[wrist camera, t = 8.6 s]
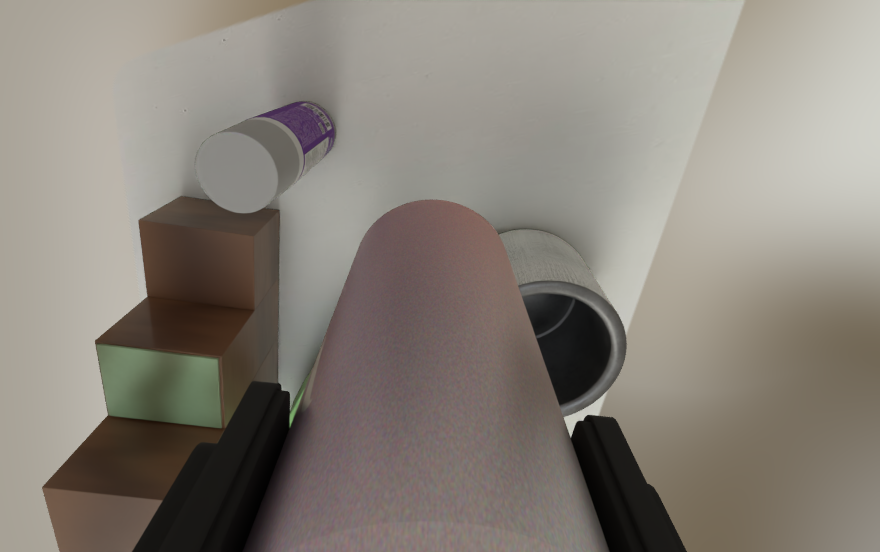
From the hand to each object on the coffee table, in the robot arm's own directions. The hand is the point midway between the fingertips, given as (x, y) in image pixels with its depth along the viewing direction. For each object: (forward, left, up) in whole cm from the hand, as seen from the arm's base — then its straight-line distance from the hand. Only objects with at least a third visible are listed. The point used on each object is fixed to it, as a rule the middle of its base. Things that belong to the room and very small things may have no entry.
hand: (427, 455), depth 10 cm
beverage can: (0, 0, -10) cm, 10 cm away
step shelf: (+6, -23, -33) cm, 41 cm away
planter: (+14, +3, -33) cm, 36 cm away
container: (-6, -9, -33) cm, 35 cm away
